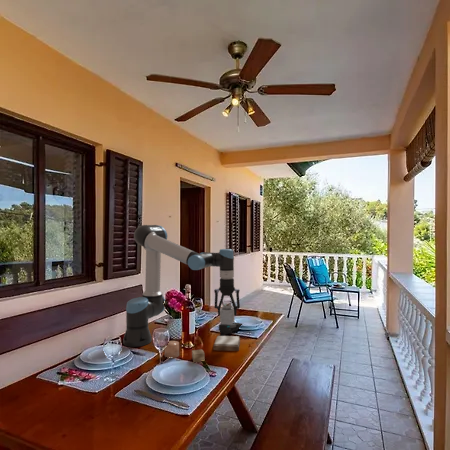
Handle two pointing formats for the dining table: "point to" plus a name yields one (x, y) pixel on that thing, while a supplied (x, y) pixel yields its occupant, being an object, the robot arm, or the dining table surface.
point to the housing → (227, 315)
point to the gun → (228, 328)
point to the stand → (227, 343)
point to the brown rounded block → (172, 349)
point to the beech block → (198, 355)
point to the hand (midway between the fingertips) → (227, 321)
